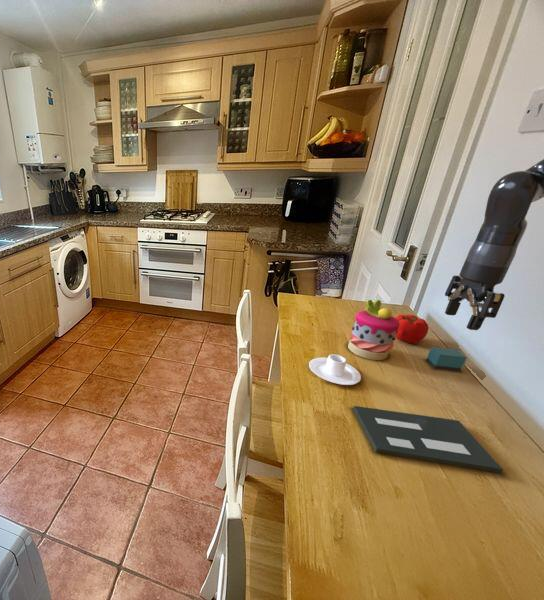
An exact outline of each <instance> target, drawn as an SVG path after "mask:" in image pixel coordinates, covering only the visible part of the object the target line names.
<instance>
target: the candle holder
mask: <svg viewBox="0 0 544 600" xmlns="http://www.w3.org/2000/svg"><path fill="white" fill-rule="evenodd" d="M347 361H348V360H347V359H346V358H345V357H344V356H342V355H340V354H336V353H335V354H329V355H328V356H327V357H315V358H313V359H311V360H310V361H309V363H308V366H309V369H310V370H311V371H312V373H313V374H315V376H318V377H319V378H320V379H322V380H325V381H327V382H330V383H333V384H337V385H341V386H353V385H356V384H359V383H360V382H361V380H362V376H361V373H360V372H359V370H357V369H356V368H355V367H354V366H352V365H351V364H349V363H347Z"/></svg>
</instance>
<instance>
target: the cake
mask: <svg viewBox="0 0 544 600" xmlns="http://www.w3.org/2000/svg"><path fill="white" fill-rule="evenodd" d="M365 305H366V307H365V310H361V311H358V312H357V313H356V314H355V318H354V325H353V326H352V328H351V333H349V334H348V335H349V336H350V338H349V342H348V344H347V347H348V350H349V351H350V352H352V353H353V354H355V355H357V356H359V357H362V358H365V359H368V360H372V361H373V360H374V361H383V360H385V359H387V358H388V355H389V353H390V352H391V350H392V349H393V348H394V347H395V343H394V341H396V337H394V336H395V333H396V334H397V331H398V328H399V325H400V323H399V321H398V320H397V319H396V317H394V316H393V314H392V310H391V309H389V308H386V307H383V308H381V305H382V302H381V300H380V299H376V300H374V302H373V300H371V299H367V300H366V301H365Z"/></svg>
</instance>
